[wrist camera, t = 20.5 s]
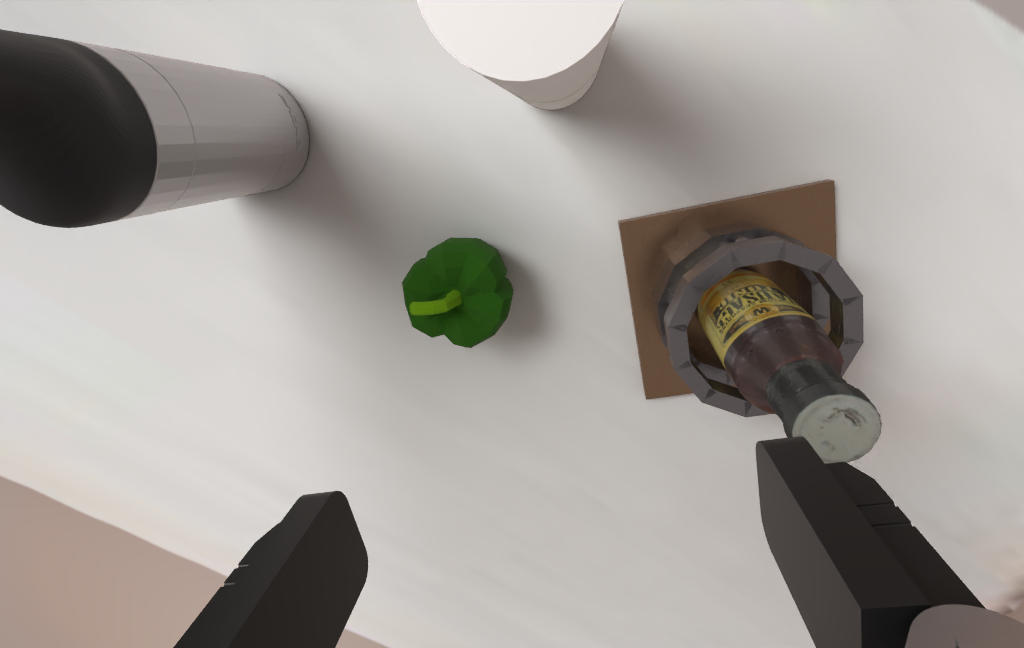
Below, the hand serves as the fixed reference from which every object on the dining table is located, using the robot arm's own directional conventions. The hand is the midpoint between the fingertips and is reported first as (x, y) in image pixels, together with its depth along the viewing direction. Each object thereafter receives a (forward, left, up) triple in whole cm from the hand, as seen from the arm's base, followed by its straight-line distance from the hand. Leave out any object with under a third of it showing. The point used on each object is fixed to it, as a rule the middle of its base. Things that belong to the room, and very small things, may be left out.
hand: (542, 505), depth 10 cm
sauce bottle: (+12, -9, -35) cm, 38 cm away
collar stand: (+12, -9, -36) cm, 39 cm away
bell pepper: (-9, -3, -36) cm, 38 cm away
